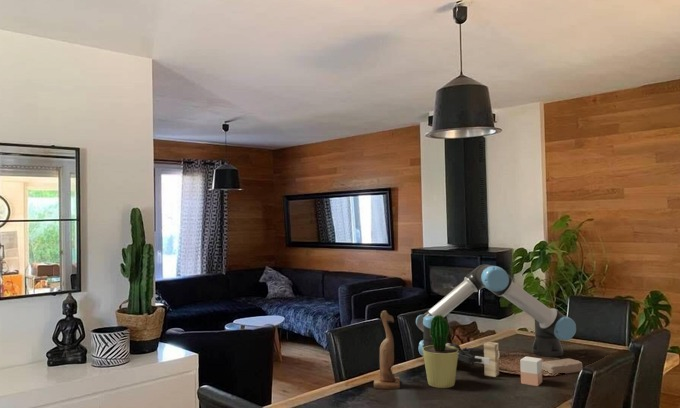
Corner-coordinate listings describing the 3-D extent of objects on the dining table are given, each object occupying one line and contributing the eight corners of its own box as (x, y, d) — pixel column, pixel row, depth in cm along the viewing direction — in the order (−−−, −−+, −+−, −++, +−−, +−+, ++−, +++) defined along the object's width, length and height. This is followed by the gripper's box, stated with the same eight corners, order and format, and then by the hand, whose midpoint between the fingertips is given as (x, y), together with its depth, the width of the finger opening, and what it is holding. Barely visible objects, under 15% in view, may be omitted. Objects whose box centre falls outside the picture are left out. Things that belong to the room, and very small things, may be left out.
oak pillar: (488, 372, 237) (487, 341, 237) (499, 374, 234) (498, 343, 234) (484, 375, 233) (483, 344, 233) (495, 377, 230) (494, 345, 230)
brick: (552, 375, 231) (552, 365, 231) (540, 370, 239) (540, 360, 240) (583, 372, 236) (583, 362, 236) (570, 367, 244) (570, 357, 244)
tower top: (526, 367, 226) (525, 356, 227) (542, 370, 222) (542, 358, 222) (520, 371, 221) (520, 359, 221) (537, 374, 217) (536, 362, 217)
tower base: (525, 379, 226) (525, 367, 226) (542, 381, 222) (542, 370, 222) (520, 383, 221) (520, 371, 221) (537, 386, 216) (537, 374, 217)
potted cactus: (452, 391, 211) (450, 318, 212) (417, 385, 219) (416, 315, 220) (464, 381, 224) (462, 312, 225) (431, 376, 232) (429, 309, 233)
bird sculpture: (401, 390, 215) (402, 313, 217) (373, 389, 216) (374, 312, 217) (399, 382, 226) (399, 308, 228) (372, 381, 227) (373, 308, 228)
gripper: (460, 353, 255) (503, 359, 243) (439, 365, 234) (485, 373, 222) (460, 338, 255) (502, 343, 243) (439, 349, 235) (484, 355, 222)
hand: (494, 357), depth 232 cm, fingers open, 13 cm apart
